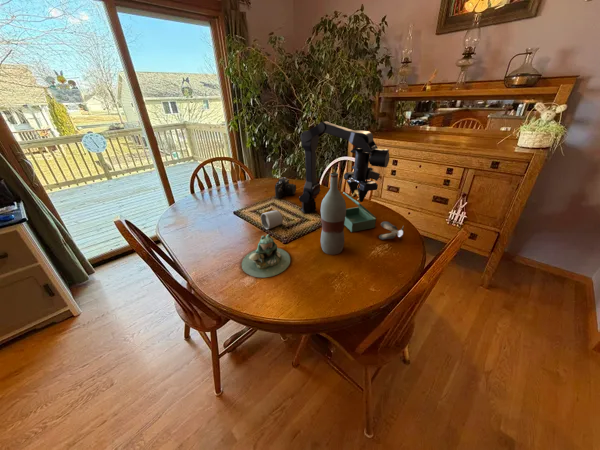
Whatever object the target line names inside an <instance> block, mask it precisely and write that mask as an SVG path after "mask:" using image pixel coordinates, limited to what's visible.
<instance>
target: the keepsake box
mask: <svg viewBox="0 0 600 450" xmlns="http://www.w3.org/2000/svg"><path fill="white" fill-rule="evenodd" d="M376 222H377V218H376V219H375V218H374V217H373V216H371V215H370V214H368V213H367V212H366V211H364V210H363V209H362V208H360V207H359V206H354V207H349V208H346V216H345V222H344V227H346V228H347V229H348V230H349V231H350V232H351V233H355V232H359V231H364V230H369V229H374V228H376Z"/></svg>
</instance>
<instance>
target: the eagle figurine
mask: <svg viewBox="0 0 600 450" xmlns="http://www.w3.org/2000/svg"><path fill="white" fill-rule="evenodd" d="M380 226H381V227H382V228H383V229H385V230H387V231H390V232H386V233H382V234H381V233H380V235H378V238H379V239H380V240H388V239H389V240H390V239H392V240H393V239H396V237H398V238H399V239H400V240H402V239H403V237H404V233H405V231H404V228H405V227H404V225H402V227H401V229H399V228H398V227H397V225H394V224H393V223H391V222H390V221H382V222H381V223H380Z"/></svg>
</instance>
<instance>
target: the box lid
mask: <svg viewBox="0 0 600 450" xmlns="http://www.w3.org/2000/svg"><path fill="white" fill-rule="evenodd" d="M342 194H343V195H344V196H345V197H347V198H348V199H349V200H350V201H352V202H353V203H354V204H355V205H356V206H357V207H360V208H362V209H363V210H364V211H366V212H367V213H368V214H370V215H371V216H373V217H374V218H375V219H376V220H377V216H376V215H375V214H373V213H372V212H371V211H369V209H367V208H366V207H365V206H364V205H363V204H362V203H361V202H360V200H359V197H358V198H357V199H354V197H353V196H354V195H355V194H356V196H359V195H358V189H357V190H355V191H354V193H353V195H352V194H351V195H349V194H348V193H346V192H345V191H343V192H342Z"/></svg>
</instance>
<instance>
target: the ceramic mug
mask: <svg viewBox="0 0 600 450" xmlns="http://www.w3.org/2000/svg"><path fill="white" fill-rule="evenodd" d="M260 221H261V225H262V226H263V228H264V229H265V230H270V229H273V228H276V227H278V226H280V225H282V224H283V222H284V217H283V214H282V212H281V211H280V210H270V211H267V212H262V213H261V214H260Z"/></svg>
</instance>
